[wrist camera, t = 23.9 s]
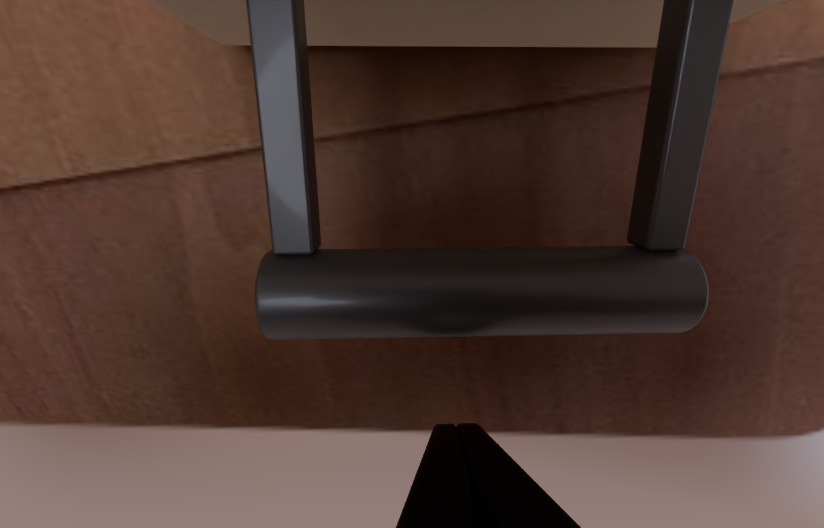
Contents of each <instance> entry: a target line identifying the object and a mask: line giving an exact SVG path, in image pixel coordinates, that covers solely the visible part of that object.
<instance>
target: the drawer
mask: <svg viewBox="0 0 824 528" xmlns="http://www.w3.org/2000/svg"><path fill="white" fill-rule="evenodd" d="M148 1H150V2H152V3H153V4H155V5H156V6H158V7H160V8H161V9H163V10H165V11H166V12H168V13H170V14H171V15H173V16H175V17H176V18H178V19H179V20H181V21H183V22H184V23H186V24H188V25H189V26H191V27H193V28H194V29H196V30H197V31H199V32H201V33H202V34H204V35H206V36H207V37H209V38H211V39H212V40H214V41H216V42H217V43H219V44H221V45H251V52H252V61H253V71H254V80H255V90H256V99H257V108H258V118H259V127H260V137H261V146H262V155H263V165H264V174H265V184H266V193H267V202H268V212H269V221H270V231H271V240H272V249H273V250H272V251H269V252H267V253H266V254H265V255H264V257H263V258H262V260H261V263H260V265H259V269H258V273H257V278H256V285H255V308H256V315H257V320H258V324H259V327H260V330H261V332H262V334H263V335H264V336H265V337H266V338H268V339H271V340H304V339H362V338H420V337H478V336H536V335H593V334H651V333H682V332H685V331H688V330H690V329H692V328H693V327H695V326H696V325H697V324H698V323H699V322H700V320H701V319H702V317H703V316H704V314H705V311H706V308H707V305H708V298H709V287H708V280H707V277H706V273H705V271H704V268H703V267H702V265H701V263H700V262H699V260H698V259H697V258H696V257H695V255H693V254H692V253H691V252H690V251H688V250H686V249H684V247H685V244H686V239H687V234H688V229H689V224H690V219H691V214H692V209H693V204H694V199H695V194H696V189H697V184H698V178H699V173H700V168H701V163H702V158H703V153H704V148H705V143H706V138H707V133H708V128H709V123H710V118H711V113H712V108H713V103H714V98H715V93H716V88H717V83H718V78H719V73H720V68H721V63H722V58H723V53H724V48H725V43H726V38H727V33H728V28H729V24H731V23H733V22H736V21H738V20H741V19H743V18H746V17H748V16H751V15H754V14H756V13H759V12H761V11H764V10H766V9H769V8H771V7H774V6H776V5H779V4H782V3H784V2H787V1H789V0H148ZM307 46H456V47H644V48H656V55H655V61H654V67H653V74H652V80H651V87H650V93H649V100H648V106H647V113H646V119H645V125H644V132H643V138H642V145H641V151H640V158H639V164H638V171H637V177H636V183H635V190H634V196H633V203H632V209H631V216H630V222H629V229H628V235H627V242H628V243H630V244H633V245H635V246H583V247H487V248H390V249H318V248H319V247H320V245H321V236H320V222H319V207H318V193H317V179H316V165H315V150H314V136H313V122H312V108H311V93H310V79H309V65H308V50H307Z"/></svg>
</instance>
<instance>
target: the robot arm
mask: <svg viewBox="0 0 824 528" xmlns="http://www.w3.org/2000/svg"><path fill="white" fill-rule="evenodd" d="M396 528H581V527H580V526H579V525H578V524H577V523H576V522H575V521H574V520H573V519H572V518H571V517H570V516H569V515H568V514H567V513H566V512H565V511H564V510H563V509H562V508H561V507H560V506H559V505H558V504H557V503H556V502H555V501H554V500H553V499H552V498H551V497H550V496H549V495H548V494H546V492H545V491H544V490H543V489H542V488H541V487H540V486H539V485H538V484H537V483H536V482H535V481H534V480H533V479H532V478H531V477H530V476H529V475H528V474H527V473H526V472H525V471H524V470H523V469H522V468H521V467H520V466H519V465H518V464H517V463H516V462H515V461H514V460H513V459H512V458H511V457H510V456H509V455H508V454H507V453H506V452H505V451H504V450H503V449H502V448H501V447H500V446H499V445H498V444H497V443H496V442H495V441H494V440H493V439H492V438H491V437H490V436H489V435H488V434H487V433H486V432H485V431H484V430H483V429H482V428H481V427H480V426H479V425H478V424H476V423H460V424H457V426H455V425H454V424H437V425H435V426H434V428H433V431H432V434H431V436H430V439H429V442H428V444H427V447H426V450H425V452H424V455H423V457H422V460H421V463H420V465H419V468H418V471H417V473H416V476H415V479H414V481H413V484H412V486H411V489H410V492H409V495H408V497H407V500H406V502H405V505H404V508H403V510H402V513H401V516H400V518H399V521H398V523H397V526H396Z"/></svg>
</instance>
